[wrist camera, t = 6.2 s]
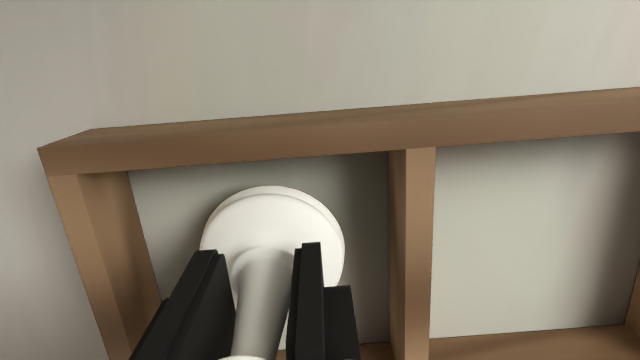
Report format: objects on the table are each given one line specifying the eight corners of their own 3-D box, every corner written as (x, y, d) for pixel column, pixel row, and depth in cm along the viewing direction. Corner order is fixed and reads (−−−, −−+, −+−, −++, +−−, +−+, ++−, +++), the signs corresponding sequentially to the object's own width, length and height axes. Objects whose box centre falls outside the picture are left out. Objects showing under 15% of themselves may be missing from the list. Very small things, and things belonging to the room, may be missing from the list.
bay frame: (90, 129, 12) (36, 148, 10) (710, 81, 12) (809, 88, 10) (161, 374, 16) (134, 431, 13) (639, 338, 15) (698, 389, 13)
